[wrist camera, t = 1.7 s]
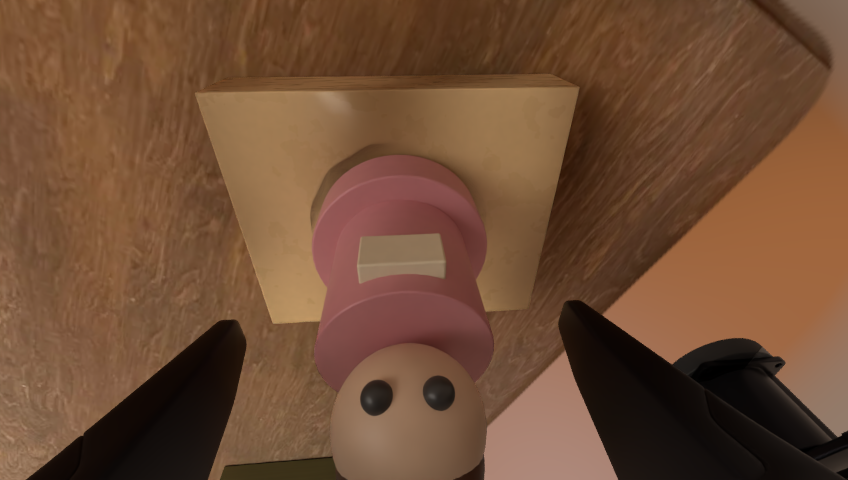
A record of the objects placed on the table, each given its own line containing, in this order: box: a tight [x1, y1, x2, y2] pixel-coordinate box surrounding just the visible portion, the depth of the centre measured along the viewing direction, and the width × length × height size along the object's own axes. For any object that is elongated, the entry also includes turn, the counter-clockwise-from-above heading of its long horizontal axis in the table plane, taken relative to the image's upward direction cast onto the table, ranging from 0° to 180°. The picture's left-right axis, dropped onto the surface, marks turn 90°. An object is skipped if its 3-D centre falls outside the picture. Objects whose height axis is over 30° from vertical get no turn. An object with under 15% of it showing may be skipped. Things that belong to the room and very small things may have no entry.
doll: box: [312, 155, 494, 480], centre depth 10 cm, size 6×6×10 cm
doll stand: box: [195, 74, 580, 324], centre depth 15 cm, size 12×10×2 cm
